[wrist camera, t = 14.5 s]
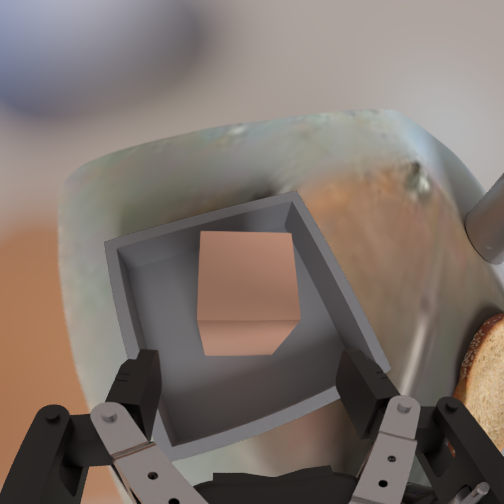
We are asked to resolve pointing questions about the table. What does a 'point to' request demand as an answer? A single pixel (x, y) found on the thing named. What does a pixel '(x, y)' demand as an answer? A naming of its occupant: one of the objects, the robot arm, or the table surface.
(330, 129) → the table surface
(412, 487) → the supplement bottle
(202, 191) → the table surface
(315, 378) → the charcoal bin
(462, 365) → the slice of bread
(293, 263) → the salmon pink block
